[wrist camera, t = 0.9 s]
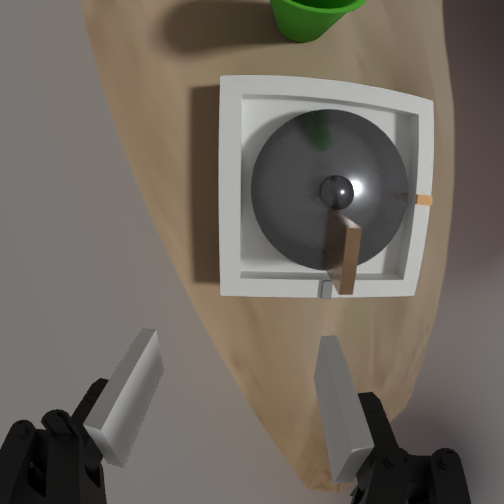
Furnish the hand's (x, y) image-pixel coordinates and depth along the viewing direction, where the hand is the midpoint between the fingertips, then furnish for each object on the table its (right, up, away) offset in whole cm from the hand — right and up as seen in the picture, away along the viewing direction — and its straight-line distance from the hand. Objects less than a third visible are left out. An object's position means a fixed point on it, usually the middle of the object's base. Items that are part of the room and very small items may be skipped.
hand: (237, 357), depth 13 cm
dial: (+9, +11, +14) cm, 20 cm away
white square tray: (+9, +12, +16) cm, 22 cm away
